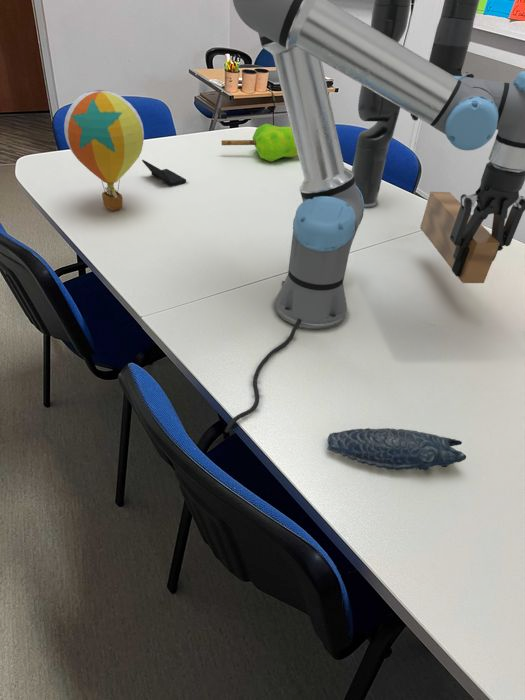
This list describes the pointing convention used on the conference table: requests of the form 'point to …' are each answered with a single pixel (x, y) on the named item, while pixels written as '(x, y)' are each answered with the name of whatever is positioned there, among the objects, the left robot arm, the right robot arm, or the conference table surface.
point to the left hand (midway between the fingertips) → (467, 273)
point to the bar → (438, 231)
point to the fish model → (395, 448)
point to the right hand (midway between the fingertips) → (431, 120)
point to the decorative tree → (270, 142)
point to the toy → (105, 138)
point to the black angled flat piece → (165, 175)
